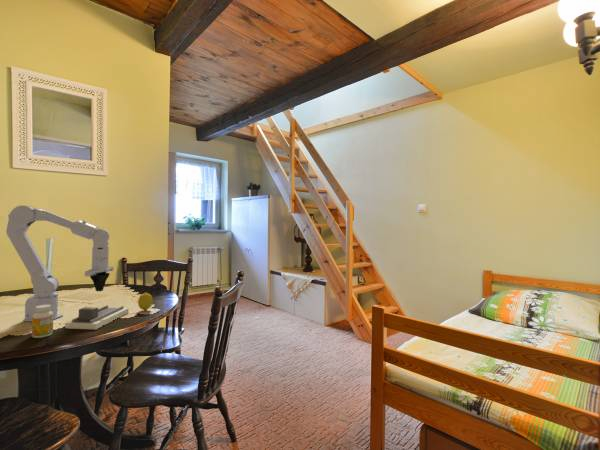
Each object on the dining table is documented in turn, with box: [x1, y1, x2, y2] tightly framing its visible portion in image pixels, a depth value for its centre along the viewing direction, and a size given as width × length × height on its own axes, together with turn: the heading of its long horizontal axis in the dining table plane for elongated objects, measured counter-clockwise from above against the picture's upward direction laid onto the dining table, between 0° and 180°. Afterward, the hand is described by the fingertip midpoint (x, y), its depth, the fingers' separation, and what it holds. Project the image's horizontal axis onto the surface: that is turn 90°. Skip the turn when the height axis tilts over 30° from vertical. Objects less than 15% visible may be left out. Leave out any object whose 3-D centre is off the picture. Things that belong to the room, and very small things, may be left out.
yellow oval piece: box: [137, 292, 153, 312], centre depth 133 cm, size 6×6×8 cm
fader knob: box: [78, 306, 99, 321], centre depth 112 cm, size 5×3×4 cm, turn 89°
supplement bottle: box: [31, 305, 54, 339], centre depth 102 cm, size 5×5×10 cm
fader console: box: [65, 305, 129, 330], centre depth 119 cm, size 11×20×3 cm, turn 179°
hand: (99, 290), depth 127 cm, fingers closed
